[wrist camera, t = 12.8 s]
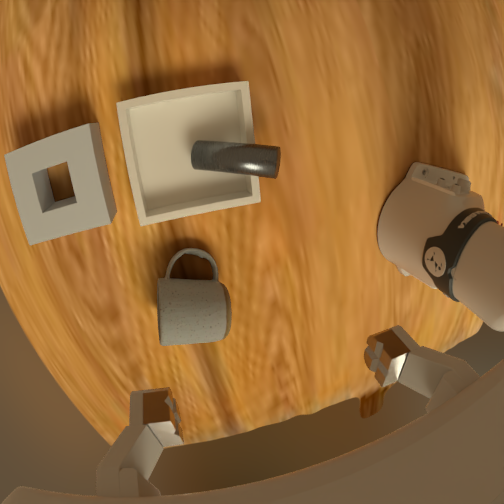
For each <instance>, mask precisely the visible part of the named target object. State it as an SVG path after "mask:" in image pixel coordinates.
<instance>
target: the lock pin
mask: <svg viewBox="0 0 504 504" xmlns="http://www.w3.org/2000/svg"><path fill="white" fill-rule="evenodd" d="M280 157H281V151H280V147H276V146H268V145H258V144H247V143H236V142H222V141H206V140H197V141H196V142H195V143H194V145H193V147H192V151H191V164H192V167H193V168H194V169H195V170H205V171H215V172H225V173H234V174H243V175H251V176H259V177H267V178H274V179H276V178H277V175H278V172H279V167H280Z"/></svg>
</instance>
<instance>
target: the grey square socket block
mask: <svg viewBox="0 0 504 504" xmlns="http://www.w3.org/2000/svg"><path fill="white" fill-rule="evenodd" d="M4 156H5V161H6V165H7V170H8V174H9V178H10V183H11V187H12V190H13V194H14V198H15V201H16V205H17V208H18V212H19V215H20V218H21V221H22V224H23V227H24V230H25V233H26V236H27V239H28V242H29V245H33V244H37V243H40V242H43V241H47V240H51V239H54V238H58V237H61V236H65V235H69V234H72V233H76V232H80V231H84V230H88V229H92V228H95V227H99V226H103V225H107V224H111V223H112V221H113V219H114V217H115V215H116V213H117V209H116V205H115V201H114V197H113V192H112V188H111V184H110V179H109V175H108V170H107V165H106V160H105V155H104V150H103V145H102V139H101V134H100V128H99V122H98V123H89V124H85V125H82V126H79V127H76V128H73V129H70V130H67V131H64V132H61V133H58V134H55V135H52V136H50V137H47V138H44V139H42V140H39V141H36V142H34V143H31V144H29V145H26V146H24V147H22V148H19V149H17V150H15V151H12V152H10V153H8V154H6V155H4ZM64 162H67V163H68V168H69V172H70V177H71V181H72V185H73V189H74V193H75V196H73V197H70V198H67V199H63V200H60V201H57V202H55V200H54V196H53V192H52V189H51V185H50V181H49V177H48V172H47V168H49V167H52V166H55V165H58V164H61V163H64Z"/></svg>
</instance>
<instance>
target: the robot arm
mask: <svg viewBox="0 0 504 504" xmlns="http://www.w3.org/2000/svg"><path fill="white" fill-rule="evenodd" d="M422 171H423V172H422ZM470 186H471V182H470V181H469V178H468V176H466V175H464V174H462V173H459V172H455V171H451V170H448V169H444V168H440V167H436V166H432V165H428V164H424V163H420V162H414V163H413V164H412V165H411V167H410V169H409V171H408V173H407V175H406V177H405V179H404V180H403V181H402V182H401V183H400V184H399V185H398V186H397V187H396V188H395V189H394V191H393V192H392V193H391V195H390V196H389V198H388V199H387V201H386V203H385V205H384V207H383V209H382V212H381V215H380V219H379V223H378V233H377V236H378V244H379V248H380V251H381V253H382V254H383V256H384V257H385V258H386V259H387V260H388V261H390V262H392V263H394V264H395V265H396V266H397V268H398V270H399V272H400V273H401V274H403V275H404V276H408V275H412V276H414V277H415V278H417V279H418V280H420V281H422V282H423V283H425V284H427V285H428V286H430V287H431V288H434V289H437V288H438V289H439V290H440V291H442V292H443V294H444V295H446V296H447V297H450V298H451V299H452V300H454V301H456V302H461V303H462V304H464V305H465V306H466V307H467V308H468V309H470V310H471V311H472V312H473V313H474V314H476V315H477V316H478V317H479V318H480V319H482V320H483V321H484V322H485V323H486V324H487V325H489V326H490V327H491V328H492V329H494V330H497V331H504V227H503V226H502V225H503V224H502V223H501V225H499V222H498V221H496V220H495V219H494V218H493V217H492V216H491V215H490V214H489V213H487V212H485V209H484V202H483V199H482V197H481V195H479V194H477V193H475V192H473V191H471V190H470ZM367 344H368V347H367V348H366V349H365V352H364V360H365V363H366V365H367V367H368V368H369V370H371V371H373V372H375V378H376V380H377V381H378V382H379V384H380V385H381V387H384V386H387V385H389V384H391V383H394V382H396V381H398V382H400V383H402V384H403V385H405V386H407V387H409V388H411V389H413V390H415V391H417V392H418V393H421V394H422V395H424V396H426V397H428V398H430V401H429V402H428V404H427V406H426V410H427V412H428V413H427V414H425V415H423V416H422V417H420V418H418V419H416V420H415V421H413V422H411V423H409V424H407V425H406V426H404V427H402V428H400V429H398V430H396V431H395V432H392V433H390V434H388V435H386V436H384V437H382V438H380V439H378V440H376V441H373V442H371V443H369V444H367V445H365V446H363V447H360V448H358V449H356V450H353V451H351V452H348V453H346V454H343V455H341V456H338V457H336V458H333V459H331V460H328V461H325V462H322V463H320V464H317V465H314V466H311V467H308V468H304V469H302V470H298V471H295V472H292V473H288V474H285V475H281V476H278V477H274V478H270V479H266V480H262V481H258V482H254V483H249V484H245V485H240V486H235V487H229V488H224V489H218V490H212V491H205V492H198V493H189V494H180V495H168V496H160V491H159V490H158V489H157V488H155V487H154V486H153V485H152V484H151V483H150V482H149V481H148V479H149V477H150V475H151V472H152V470H153V469H154V466H155V464H156V463H157V460H158V458H159V456H160V454H161V452H162V450H163V447H167V446H174V445H180V444H184V440H183V432H182V429H181V427H180V425H179V423H180V422H181V417H180V411H179V407H178V404H177V402H176V399H174V398H173V396H172V391H171V389H170V387H167V388H158V389H149V390H140V391H132V392H131V395H130V422H129V426H126V427H125V429H124V430H123V431H122V433H121V434H120V435H119V437H118V438H117V440H116V441H115V442H114V444H113V445H112V447H111V448H110V449H109V451H108V452H107V454H106V455H105V456H104V458H103V459H102V461H101V462H100V463H99V465H98V466H97V471H96V496H85V495H75V494H66V493H59V492H52V491H45V490H39V489H34V488H29V487H22V486H21V487H18V488H16V489H15V490H14V491H13V492H12V493H11V494H10V495H9V496H8V497H7V498H6V499H5V500H4V501H3V502H2V504H504V359H503V360H502V361H501V362H499V363H498V364H497V365H496V366H494V367H493V368H492V369H491V370H489V371H488V372H487V373H486V374H484V375H483V376H482V377H479V375H478V374H477V373H476V372H475V371H474V370H473V369H472V368H471V367H470V366H469V364H468V363H467V362H466V361H465V360H462V359H459V358H455V357H453V356H450V355H447V354H444V353H441V352H438V351H436V350H433V349H430V348H427V347H424V346H422V347H420V346H419V345H418V344H417V343H416V342H415V341H414V340H413V339H412V338H411V337H410V335H409V334H408V333H407V332H406V331H405V330H404V329H403V328H402V327H401V326H399V325H397V326H394V327H392V328H389V329H386V330H383V331H381V332H378V333H376V334H373V335H370V336H369V337H368V339H367Z"/></svg>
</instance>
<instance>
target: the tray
mask: <svg viewBox="0 0 504 504" xmlns="http://www.w3.org/2000/svg"><path fill="white" fill-rule="evenodd" d="M116 104H117V111H118V118H119V124H120V131H121V137H122V142H123V148H124V153H125V159H126V164H127V169H128V174H129V179H130V183H131V188H132V192H133V197H134V201H135V206H136V210H137V214H138V218H139V222H140V226H144V225H149V224H153V223H158V222H162V221H167V220H171V219H176V218H181V217H186V216H190V215H195V214H200V213H205V212H210V211H215V210H221V209H226V208H231V207H236V206H242V205H247V204H253V203H258V202H261V198H260V188H259V178H258V176H251V175H243V174H234V173H225V172H215V171H205V170H195V169H194V168H193V167H192V164H191V151H192V147H193V145H194V143H195V142H196V141H197V140H206V141H222V142H236V143H247V144H255V139H254V129H253V120H252V110H251V101H250V92H249V83H248V81H242V82H231V83H221V84H213V85H205V86H198V87H191V88H185V89H178V90H173V91H167V92H162V93H157V94H152V95H147V96H143V97H138V98H134V99H130V100H125V101H121V102H118V103H116Z"/></svg>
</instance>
